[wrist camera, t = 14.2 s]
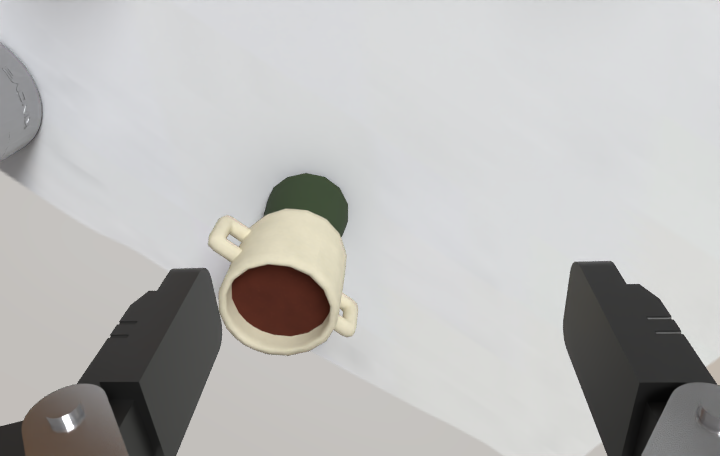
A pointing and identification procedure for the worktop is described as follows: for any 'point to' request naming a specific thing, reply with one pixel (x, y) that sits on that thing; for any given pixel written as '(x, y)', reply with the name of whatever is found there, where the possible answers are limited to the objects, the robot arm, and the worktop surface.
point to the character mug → (287, 269)
